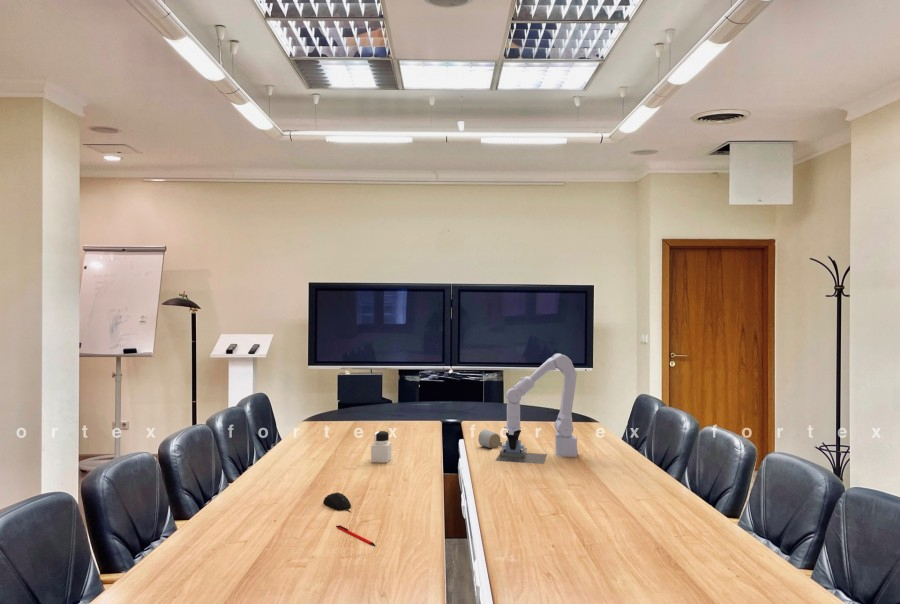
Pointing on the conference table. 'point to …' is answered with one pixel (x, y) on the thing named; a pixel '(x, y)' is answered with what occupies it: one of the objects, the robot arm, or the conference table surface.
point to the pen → (355, 535)
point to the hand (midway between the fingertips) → (513, 448)
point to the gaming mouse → (337, 502)
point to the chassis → (521, 457)
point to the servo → (517, 449)
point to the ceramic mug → (489, 439)
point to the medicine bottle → (381, 447)
